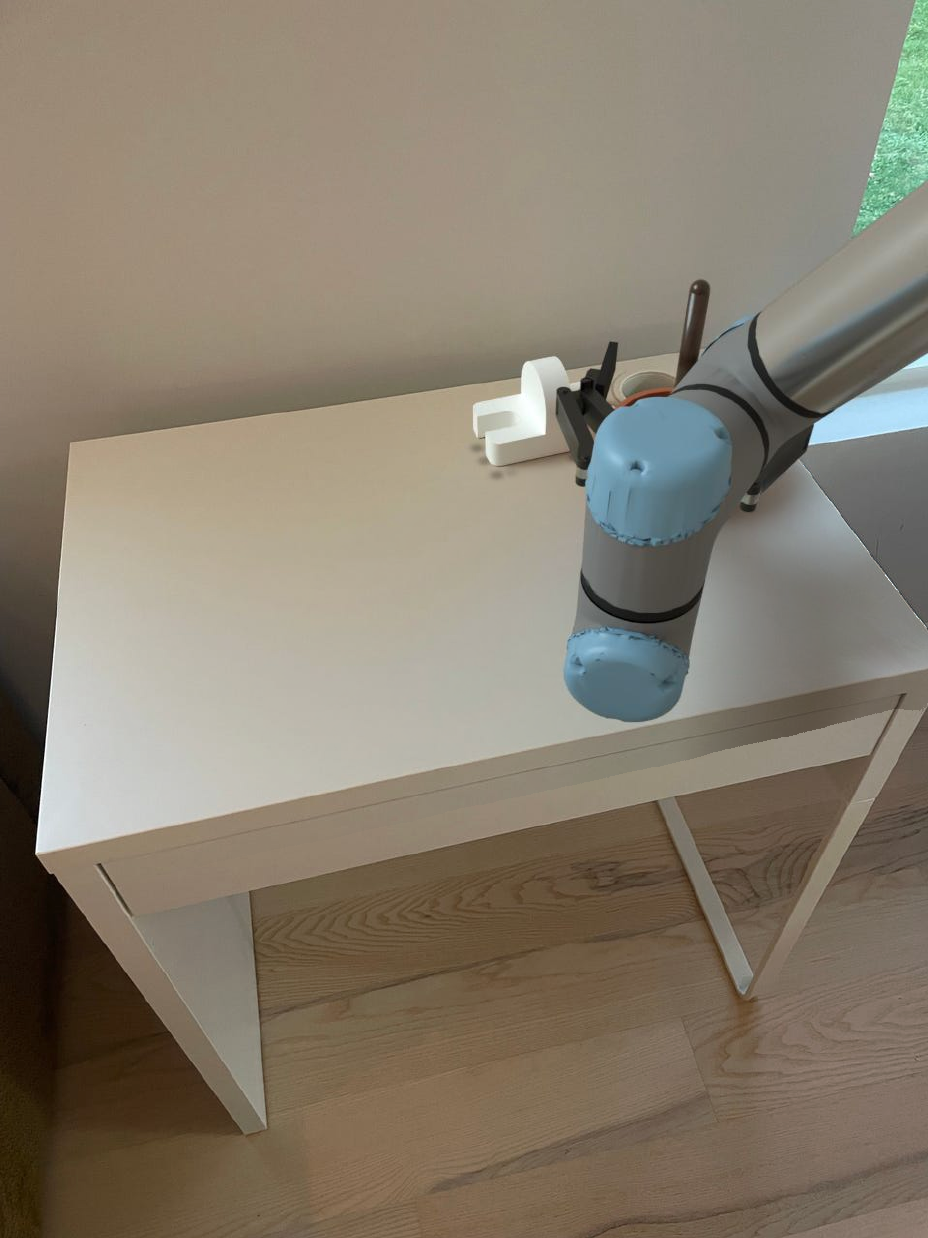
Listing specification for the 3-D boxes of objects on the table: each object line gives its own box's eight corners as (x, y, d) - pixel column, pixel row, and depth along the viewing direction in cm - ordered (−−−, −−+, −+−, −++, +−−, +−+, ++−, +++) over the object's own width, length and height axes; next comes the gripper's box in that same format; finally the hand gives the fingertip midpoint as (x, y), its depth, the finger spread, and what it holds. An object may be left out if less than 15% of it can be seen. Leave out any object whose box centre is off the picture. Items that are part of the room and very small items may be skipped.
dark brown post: (704, 465, 90) (743, 271, 76) (688, 498, 87) (725, 303, 73) (651, 451, 92) (679, 258, 78) (633, 483, 89) (659, 289, 75)
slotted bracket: (592, 400, 99) (598, 332, 93) (619, 440, 94) (627, 371, 88) (471, 425, 96) (469, 357, 91) (492, 467, 92) (492, 398, 86)
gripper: (486, 538, 74) (546, 383, 88) (823, 597, 69) (832, 422, 83) (485, 461, 69) (550, 308, 82) (852, 518, 64) (856, 345, 77)
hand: (691, 365), depth 83 cm, fingers open, 13 cm apart
